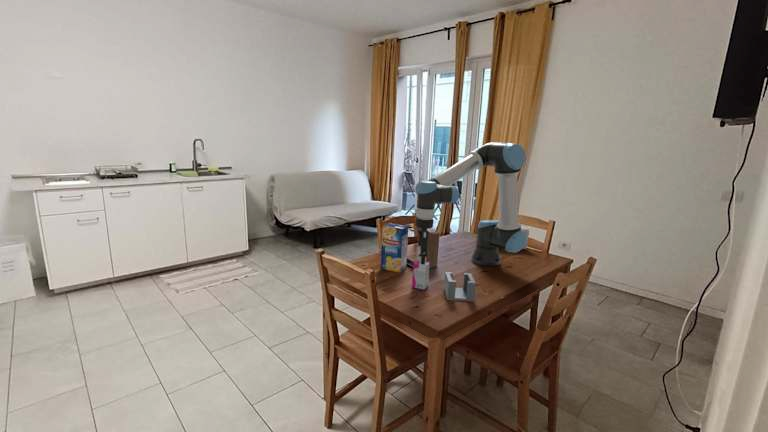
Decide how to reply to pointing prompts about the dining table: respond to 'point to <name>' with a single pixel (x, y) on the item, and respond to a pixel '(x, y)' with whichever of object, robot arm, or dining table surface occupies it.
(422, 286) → the supplement box
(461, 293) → the socket block
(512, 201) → the robot arm
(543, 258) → the dining table surface
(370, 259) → the dining table surface
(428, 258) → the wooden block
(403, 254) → the beverage box
